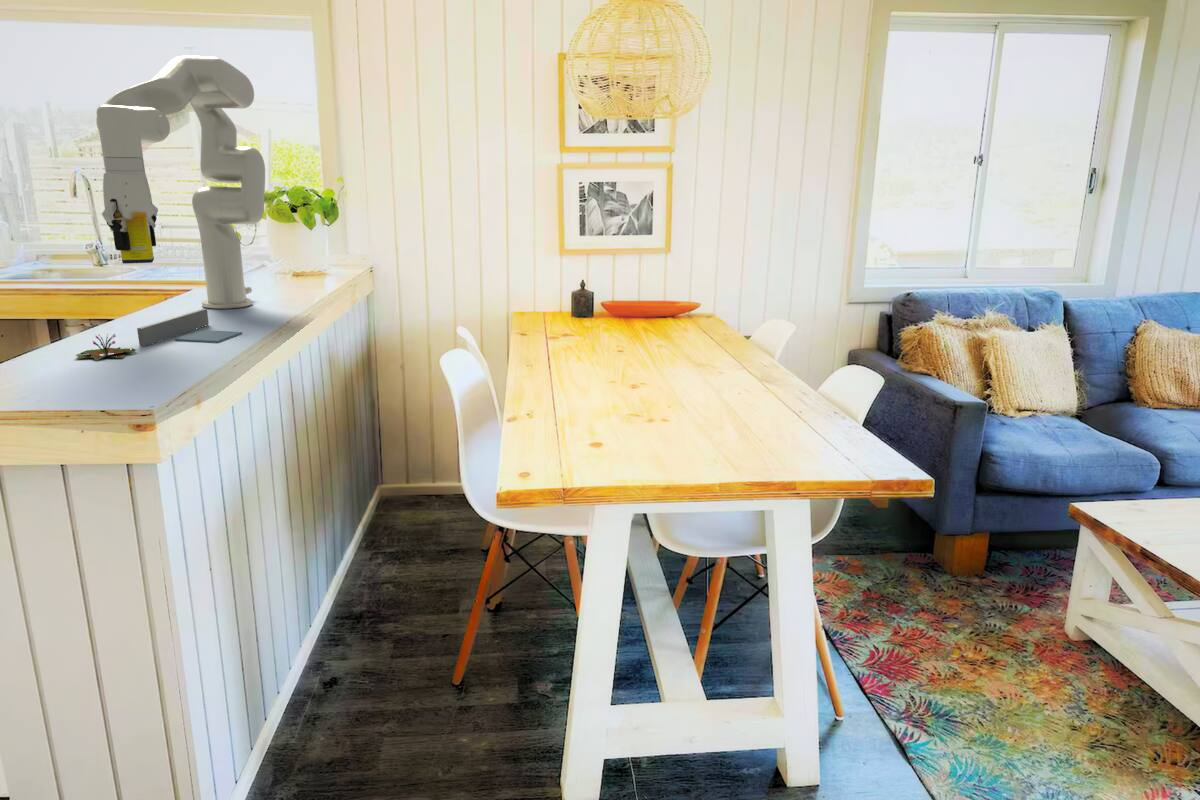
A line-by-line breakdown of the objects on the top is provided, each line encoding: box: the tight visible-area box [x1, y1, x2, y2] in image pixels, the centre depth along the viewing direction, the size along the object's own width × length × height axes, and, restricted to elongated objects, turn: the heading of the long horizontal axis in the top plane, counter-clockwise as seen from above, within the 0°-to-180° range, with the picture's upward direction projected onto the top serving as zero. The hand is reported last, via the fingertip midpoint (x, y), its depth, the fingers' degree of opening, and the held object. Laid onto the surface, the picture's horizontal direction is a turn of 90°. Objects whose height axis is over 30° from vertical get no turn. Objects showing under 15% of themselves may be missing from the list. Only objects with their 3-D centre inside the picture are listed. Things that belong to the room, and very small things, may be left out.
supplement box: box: [115, 212, 155, 265], centre depth 177 cm, size 6×6×11 cm
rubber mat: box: [174, 329, 243, 344], centre depth 182 cm, size 10×10×1 cm
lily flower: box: [75, 333, 137, 362], centre depth 163 cm, size 12×12×5 cm
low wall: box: [136, 308, 209, 347], centre depth 182 cm, size 24×1×4 cm, turn 174°
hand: (136, 247), depth 178 cm, fingers closed on supplement box, 8 cm apart
